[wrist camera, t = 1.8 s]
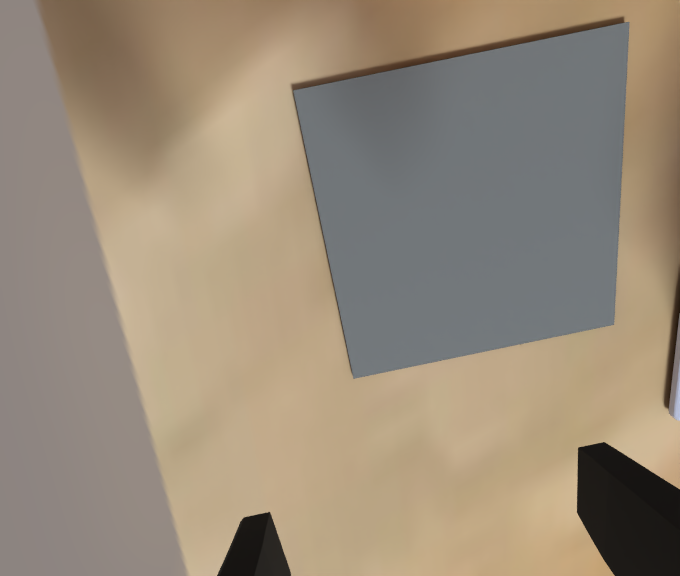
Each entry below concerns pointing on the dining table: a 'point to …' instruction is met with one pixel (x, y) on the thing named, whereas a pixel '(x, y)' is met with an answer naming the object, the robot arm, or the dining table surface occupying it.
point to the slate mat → (472, 197)
